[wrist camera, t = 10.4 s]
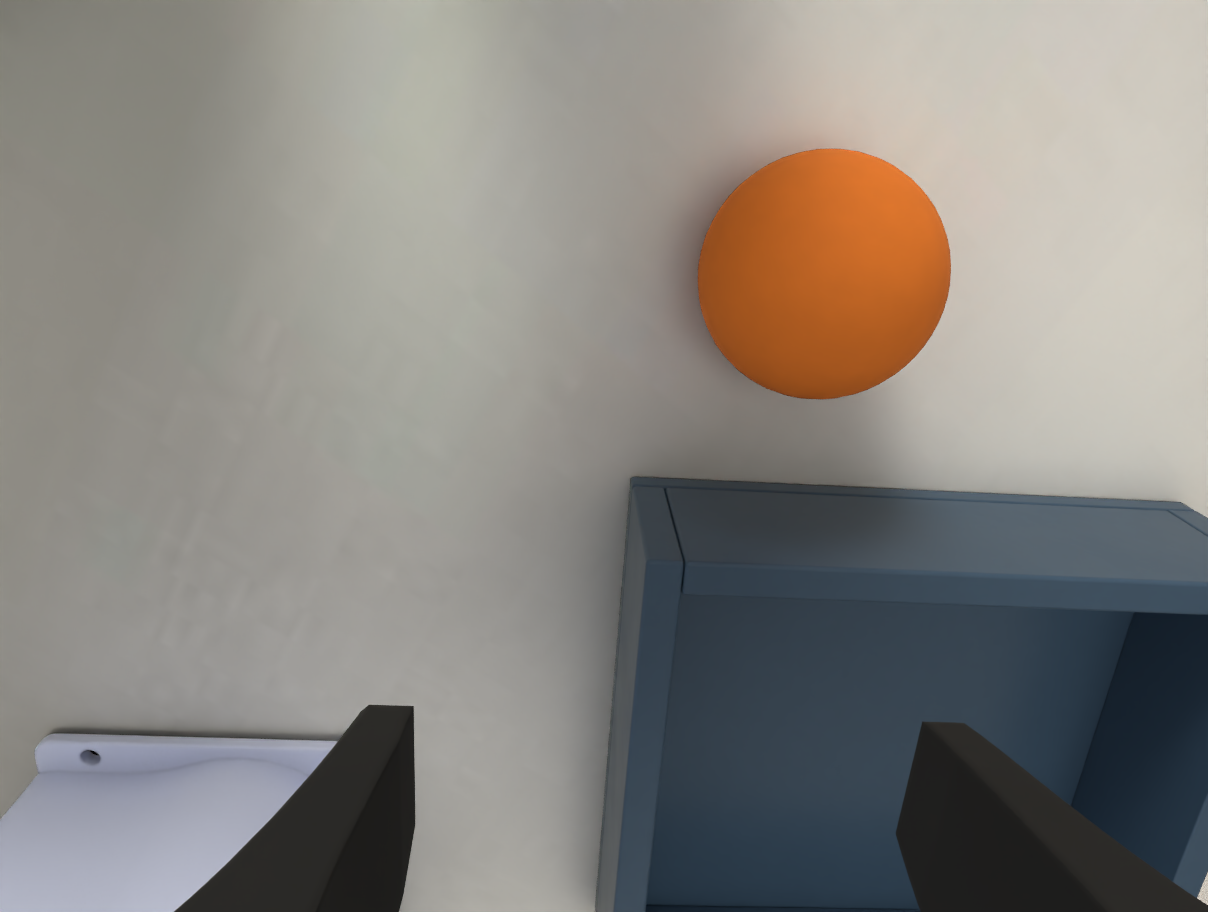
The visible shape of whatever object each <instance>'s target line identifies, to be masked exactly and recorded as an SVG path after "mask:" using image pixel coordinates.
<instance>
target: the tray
mask: <svg viewBox="0 0 1208 912" xmlns="http://www.w3.org/2000/svg"><path fill="white" fill-rule="evenodd" d="M922 721H923V722H956V723H965V724H966V725H968V726H969V727H971V728H972V729H973V730H975V731H976V732H978V733H979V734H980V735H982V736H983V737H984V738H986V739H987V740H988V741H989V742H991V743H992V744H993V745H995V746H996V747H997V748H998V749H1000V750H1001V751H1002V752H1003V753H1005V754H1006V755H1007V756H1009V757H1010V758H1011V759H1012V760H1014V761H1015V762H1016V763H1017V764H1019V765H1020V766H1021V767H1022V768H1024V769H1025V770H1026V771H1027V772H1029V773H1030V774H1031V775H1032V776H1034V777H1035V778H1036V779H1037V780H1039V781H1040V782H1041V783H1042V784H1044V785H1045V786H1046V787H1047V788H1049V789H1050V790H1051V791H1052V792H1054V793H1055V794H1056V795H1057V796H1059V797H1060V798H1061V799H1062V800H1064V801H1065V802H1066V803H1068V804H1069V805H1070V806H1071V807H1073V808H1074V809H1075V810H1077V811H1078V812H1079V813H1080V814H1082V815H1083V816H1084V817H1085V818H1087V819H1088V820H1089V821H1091V822H1092V823H1093V824H1095V825H1096V826H1097V827H1099V828H1100V829H1101V830H1102V831H1104V832H1105V833H1106V834H1108V835H1109V836H1110V837H1112V838H1113V839H1114V840H1116V841H1117V842H1118V843H1120V844H1121V845H1122V846H1124V847H1125V848H1126V849H1128V850H1129V851H1130V852H1132V853H1133V854H1135V855H1136V856H1137V857H1139V858H1140V859H1142V860H1143V861H1144V862H1146V863H1147V864H1149V865H1150V866H1151V867H1153V868H1154V869H1156V870H1157V871H1158V872H1160V873H1161V874H1163V875H1164V876H1165V877H1167V878H1168V879H1170V880H1171V881H1172V882H1174V883H1175V884H1177V885H1178V886H1180V887H1181V888H1182V889H1184V890H1185V891H1187V892H1188V893H1190V894H1191V895H1193V896H1194V897H1196V898H1197V896H1198V894H1199V891H1200V889H1201V887H1202V884H1203V882H1204V879H1205V877H1206V875H1207V872H1208V518H1207V517H1205V516H1203V515H1202V514H1200V513H1198V512H1196V511H1194V510H1193V509H1191V508H1189V507H1188V506H1186V505H1184V504H1183V503H1181V502H1163V501H1141V500H1120V499H1098V498H1077V497H1055V496H1034V495H1012V494H991V493H970V492H948V491H927V490H905V489H884V488H862V487H841V486H819V485H798V484H776V483H755V482H734V481H712V480H691V479H669V478H648V477H632V478H631V482H630V494H629V506H628V518H627V530H626V542H625V554H624V566H623V578H622V590H621V602H620V614H619V626H618V638H617V650H616V662H615V674H614V686H613V698H612V710H611V722H610V734H609V746H608V758H607V770H606V782H605V794H604V806H603V818H602V830H601V842H600V854H599V866H598V878H597V890H596V902H595V912H921V911H920V908H919V906H918V903H917V900H916V897H915V894H914V891H913V888H912V885H911V882H910V879H909V876H908V873H907V870H906V867H905V864H904V860H903V857H902V854H901V850H900V847H899V843H898V840H897V837H896V829H897V825H898V821H899V817H900V813H901V808H902V804H903V800H904V796H905V792H906V787H907V783H908V779H909V775H910V771H911V767H912V762H913V758H914V754H915V750H916V746H917V741H918V737H919V733H920V729H921V725H922Z"/></svg>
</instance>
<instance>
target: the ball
mask: <svg viewBox="0 0 1208 912" xmlns="http://www.w3.org/2000/svg"><path fill="white" fill-rule="evenodd" d="M950 274H951V261H950V249H949V244H948V239H947V236H946V232H945V229H944V226H943V224H942V221H941V219H940V217H939V215H938V213H937V211H936V209H935V207H934V205H933V204H932V202H931V201H930V199H929V198H928V197H927V195H926V194H925V193H924V191H923V190H922V189H921V188H920V187H919V186H918V185H917V184H916V183H915V182H914V181H913V180H912V179H911V178H910V177H909V176H907V175H906V174H904V173H903V172H902V171H900V170H899V169H898V168H896V167H895V166H893V165H892V164H890V163H888V162H886V161H884V160H882V159H879V158H877V157H874V156H871V155H868V154H864V153H861V152H858V151H851V150H844V149H816V150H810V151H804V152H800V153H796V154H793V155H790V156H787V157H783V158H781V159H779V160H777V161H775V162H772V163H770V164H768V165H767V166H765V167H764V168H762V169H760V170H759V171H757V172H756V173H754V174H753V175H751V176H750V177H749V178H748V179H746V180H745V181H744V182H743V183H742V184H740V185H739V186H738V187H737V188H736V189H735V190H734V192H733V193H732V194H731V195H730V196H729V197H728V198H727V200H726V201H725V202H724V204H723V205H722V206H721V207H720V209H719V211H718V212H717V214H716V216H715V217H714V219H713V221H712V223H711V225H710V227H709V230H708V232H707V234H706V237H705V240H704V243H703V246H702V250H701V254H700V260H699V267H698V291H699V301H700V306H701V311H702V314H703V317H704V320H705V323H706V326H707V328H708V330H709V332H710V334H711V336H712V338H713V340H714V342H715V344H716V345H717V346H718V348H719V349H720V351H721V352H722V353H723V355H724V356H725V357H726V358H727V359H728V360H729V361H730V362H731V363H732V364H733V366H734V367H735V368H736V369H737V370H739V371H740V372H741V373H743V374H744V375H745V376H747V377H748V378H749V379H751V380H752V381H754V382H756V383H757V384H759V385H761V386H763V387H765V388H767V389H770V390H772V391H775V392H778V393H781V394H784V395H787V396H792V397H797V398H805V399H832V398H838V397H843V396H848V395H853V394H856V393H859V392H862V391H865V390H868V389H870V388H872V387H874V386H876V385H878V384H880V383H882V382H883V381H885V380H887V379H888V378H890V377H891V376H893V375H895V374H896V373H897V372H899V371H900V370H901V369H902V368H904V367H905V366H906V365H907V364H908V363H909V362H910V361H911V360H912V359H913V358H914V357H915V356H916V355H917V354H918V353H919V352H920V350H921V349H922V348H923V347H924V346H925V344H926V343H927V341H928V340H929V338H930V337H931V335H932V334H933V332H934V330H935V328H936V326H937V324H938V322H939V320H940V318H941V315H942V313H943V310H944V307H945V304H946V301H947V297H948V292H949V286H950Z"/></svg>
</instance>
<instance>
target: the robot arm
mask: <svg viewBox="0 0 1208 912" xmlns="http://www.w3.org/2000/svg"><path fill="white" fill-rule="evenodd" d="M89 750H92V751H95V752H96V753H98V754H99V756H98V755H94V754H93V753H91V752H90V751H89ZM35 760H36V765H37V769H38V774H37V776H36V777H35V778H34V779H33V780H32V782H31V783H30V784H29V785H28V786H27V788H26V789H25V790H24V791H23V793H22V794H21V795H20V796H19V797H18V799H17V800H16V801H15V802H14V803H13V805H12V806H11V807H10V808H9V809H8V811H7V812H6V813H5V814H4V816H3V817H2V818H1V819H0V912H399V908H400V905H401V901H402V897H403V893H404V887H405V881H406V875H407V870H408V864H409V858H410V852H411V846H412V840H413V834H414V828H415V772H414V706H389V705H368V706H367V707H366V708H365V709H363V710H362V711H361V712H360V713H359V715H358V716H357V717H356V719H355V720H354V721H353V723H352V724H351V725H350V727H349V728H348V729H347V730H346V732H345V733H344V734H343V736H342V737H341V738H340V739H339V741H318V740H282V739H245V738H209V737H172V736H136V735H99V734H63V733H56V734H49V735H48V736H46V737H44V738H43V739H42V741H41V742H40V743H39V744H38V745H37V747H36V748H35ZM896 837H897V840H898V843H899V847H900V850H901V854H902V857H903V860H904V864H905V867H906V870H907V873H908V876H909V879H910V882H911V885H912V888H913V891H914V894H915V897H916V900H917V903H918V906H919V908H920V911H921V912H1208V905H1206V904H1205V903H1203V902H1202V901H1200V900H1199V899H1197V898H1196V897H1194V896H1193V895H1191V894H1190V893H1188V892H1187V891H1185V890H1184V889H1182V888H1181V887H1180V886H1178V885H1177V884H1175V883H1174V882H1172V881H1171V880H1170V879H1168V878H1167V877H1165V876H1164V875H1163V874H1161V873H1160V872H1158V871H1157V870H1156V869H1154V868H1153V867H1151V866H1150V865H1149V864H1147V863H1146V862H1144V861H1143V860H1142V859H1140V858H1139V857H1137V856H1136V855H1135V854H1133V853H1132V852H1130V851H1129V850H1128V849H1126V848H1125V847H1124V846H1122V845H1121V844H1120V843H1118V842H1117V841H1116V840H1114V839H1113V838H1112V837H1110V836H1109V835H1108V834H1106V833H1105V832H1104V831H1102V830H1101V829H1100V828H1099V827H1097V826H1096V825H1095V824H1093V823H1092V822H1091V821H1089V820H1088V819H1087V818H1085V817H1084V816H1083V815H1082V814H1080V813H1079V812H1078V811H1077V810H1075V809H1074V808H1073V807H1071V806H1070V805H1069V804H1068V803H1066V802H1065V801H1064V800H1062V799H1061V798H1060V797H1059V796H1057V795H1056V794H1055V793H1054V792H1052V791H1051V790H1050V789H1049V788H1047V787H1046V786H1045V785H1044V784H1042V783H1041V782H1040V781H1039V780H1037V779H1036V778H1035V777H1034V776H1032V775H1031V774H1030V773H1029V772H1027V771H1026V770H1025V769H1024V768H1022V767H1021V766H1020V765H1019V764H1017V763H1016V762H1015V761H1014V760H1012V759H1011V758H1010V757H1009V756H1007V755H1006V754H1005V753H1003V752H1002V751H1001V750H1000V749H998V748H997V747H996V746H995V745H993V744H992V743H991V742H989V741H988V740H987V739H986V738H984V737H983V736H982V735H980V734H979V733H978V732H976V731H975V730H973V729H972V728H971V727H969V726H968V725H966V724H965V723H956V722H923V721H922V725H921V729H920V733H919V737H918V741H917V746H916V750H915V754H914V758H913V762H912V767H911V771H910V775H909V779H908V783H907V787H906V792H905V796H904V800H903V804H902V808H901V813H900V817H899V821H898V825H897V829H896Z"/></svg>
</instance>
